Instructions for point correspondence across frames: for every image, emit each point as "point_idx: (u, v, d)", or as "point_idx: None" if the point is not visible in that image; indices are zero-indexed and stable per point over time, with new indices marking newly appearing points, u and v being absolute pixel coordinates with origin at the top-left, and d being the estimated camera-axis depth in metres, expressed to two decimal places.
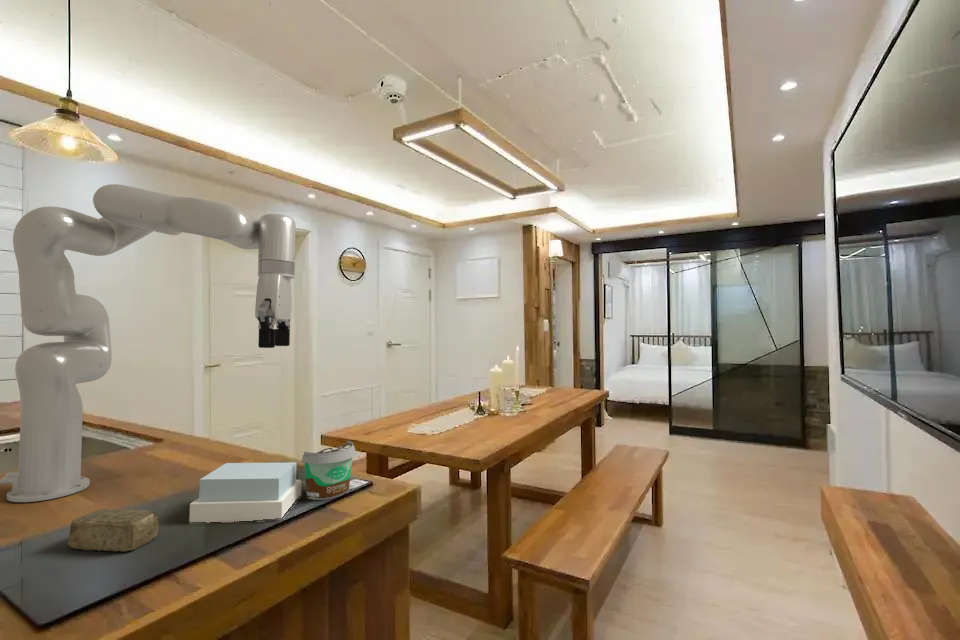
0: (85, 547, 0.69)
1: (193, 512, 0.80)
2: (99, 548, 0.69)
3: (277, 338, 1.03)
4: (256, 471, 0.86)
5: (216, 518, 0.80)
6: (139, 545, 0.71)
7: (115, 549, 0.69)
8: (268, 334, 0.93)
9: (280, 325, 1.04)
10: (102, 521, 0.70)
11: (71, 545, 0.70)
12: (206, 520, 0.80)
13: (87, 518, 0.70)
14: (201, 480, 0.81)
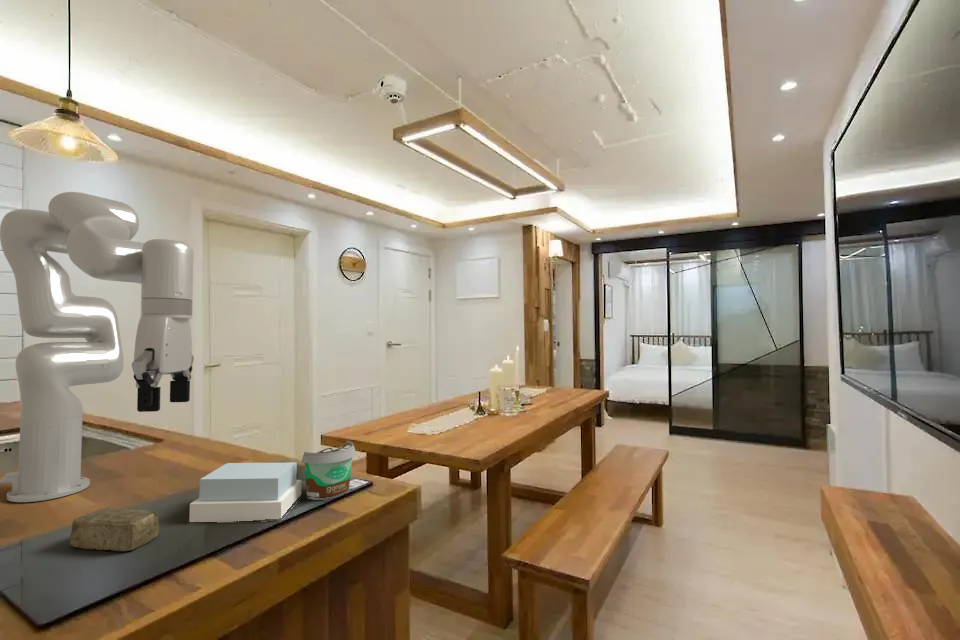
0: (86, 546, 0.70)
1: (193, 512, 0.80)
2: (100, 548, 0.69)
3: (173, 393, 0.83)
4: (256, 471, 0.86)
5: (215, 518, 0.80)
6: (139, 545, 0.71)
7: (115, 549, 0.69)
8: (150, 395, 0.73)
9: (177, 376, 0.83)
10: (102, 520, 0.70)
11: (73, 544, 0.70)
12: (206, 520, 0.80)
13: (88, 517, 0.71)
14: (201, 480, 0.81)
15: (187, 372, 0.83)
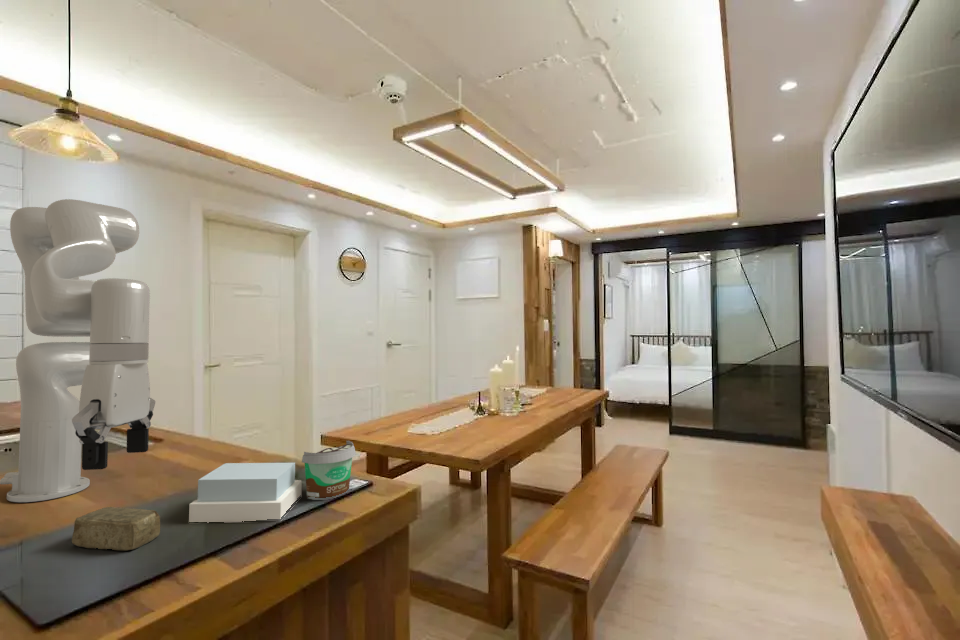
0: (88, 545, 0.70)
1: (192, 512, 0.80)
2: (101, 547, 0.70)
3: (130, 442, 0.76)
4: (254, 471, 0.86)
5: (215, 518, 0.80)
6: (140, 544, 0.71)
7: (116, 548, 0.69)
8: (95, 452, 0.66)
9: (135, 424, 0.77)
10: (104, 520, 0.70)
11: (75, 543, 0.70)
12: (205, 520, 0.80)
13: (90, 516, 0.71)
14: (199, 480, 0.81)
15: (145, 419, 0.77)
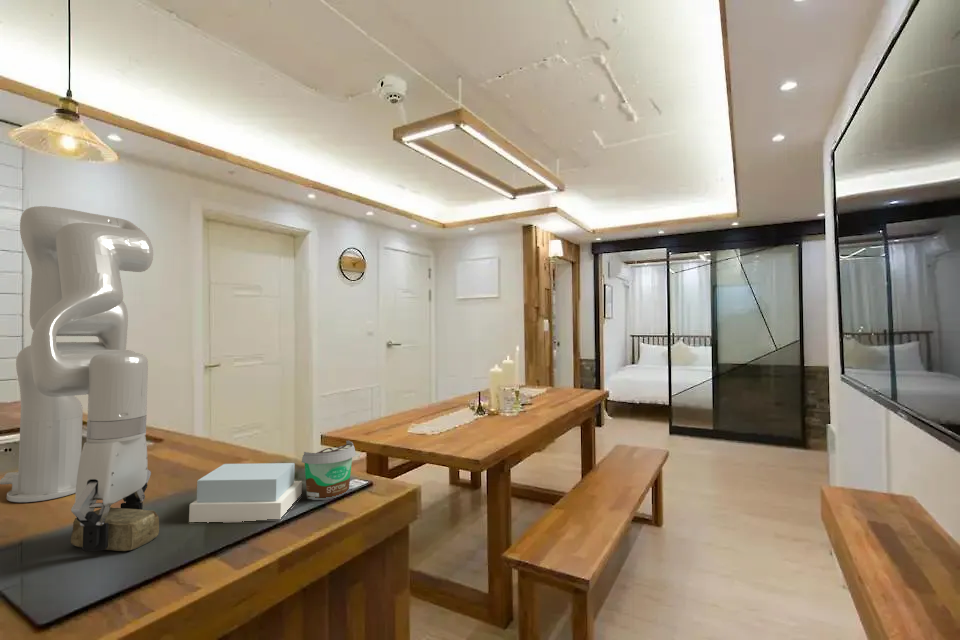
0: None
1: (193, 512, 0.80)
2: None
3: None
4: (253, 472, 0.86)
5: (215, 518, 0.80)
6: (139, 545, 0.71)
7: (115, 548, 0.69)
8: (96, 534, 0.67)
9: (129, 497, 0.76)
10: None
11: (73, 543, 0.70)
12: (205, 521, 0.80)
13: None
14: (198, 481, 0.81)
15: (139, 494, 0.76)
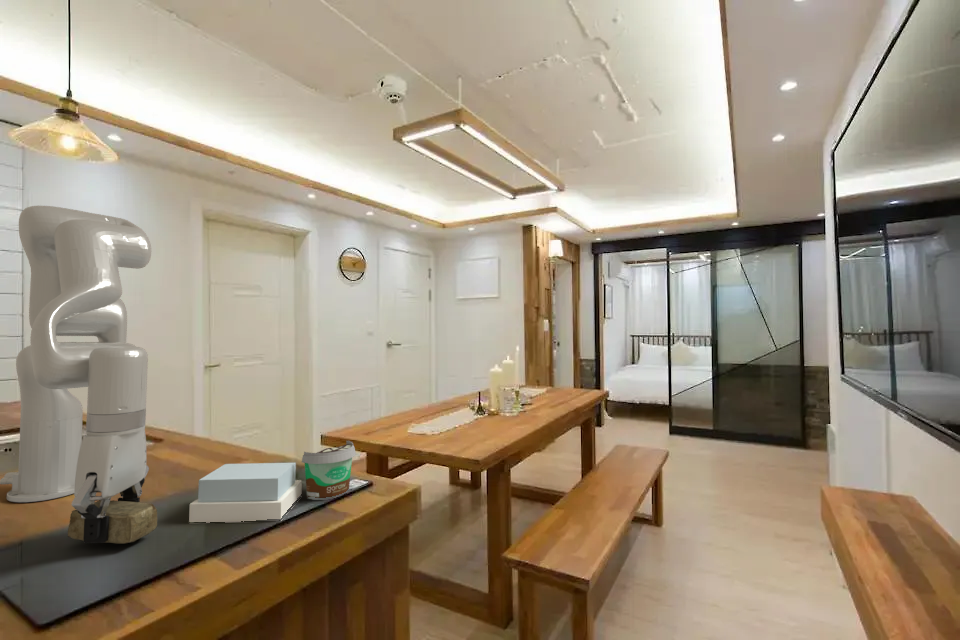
0: None
1: (193, 512, 0.80)
2: None
3: None
4: (255, 471, 0.86)
5: (215, 518, 0.80)
6: (137, 537, 0.71)
7: (113, 541, 0.69)
8: (96, 527, 0.68)
9: (126, 492, 0.76)
10: None
11: (71, 535, 0.70)
12: (206, 520, 0.80)
13: None
14: (200, 481, 0.81)
15: (136, 489, 0.76)
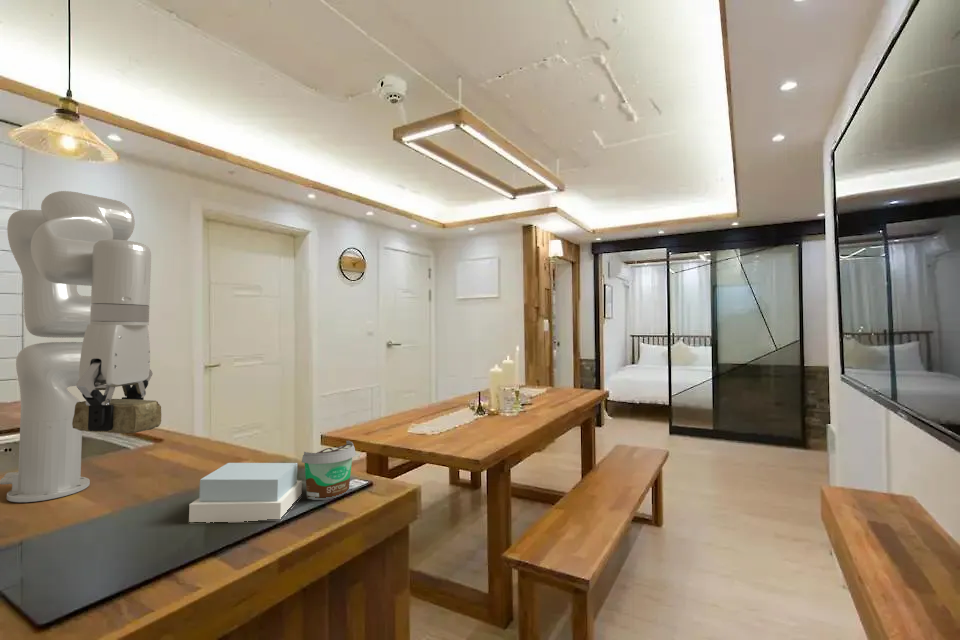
0: None
1: (192, 512, 0.80)
2: None
3: None
4: (256, 471, 0.86)
5: (215, 518, 0.80)
6: (142, 429, 0.71)
7: (118, 430, 0.69)
8: (101, 413, 0.68)
9: (130, 391, 0.76)
10: None
11: (75, 426, 0.70)
12: (205, 521, 0.80)
13: None
14: (201, 480, 0.81)
15: (140, 388, 0.76)
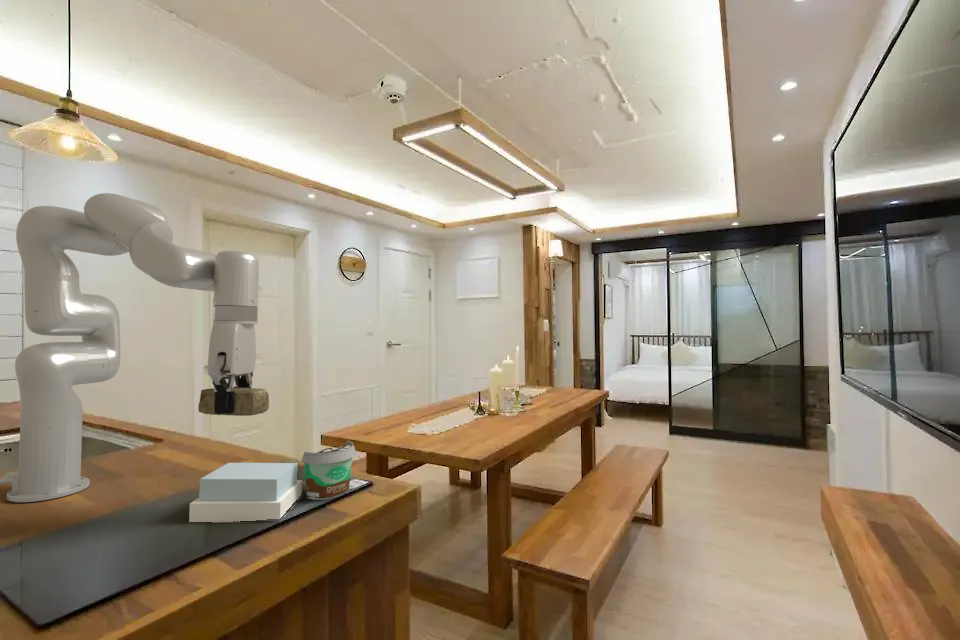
0: (213, 412, 0.82)
1: (193, 512, 0.80)
2: None
3: None
4: (256, 471, 0.86)
5: (215, 517, 0.80)
6: (256, 412, 0.83)
7: (238, 413, 0.81)
8: (226, 399, 0.80)
9: (240, 381, 0.88)
10: None
11: (201, 410, 0.82)
12: (205, 520, 0.80)
13: (213, 389, 0.83)
14: (201, 480, 0.81)
15: (249, 378, 0.88)
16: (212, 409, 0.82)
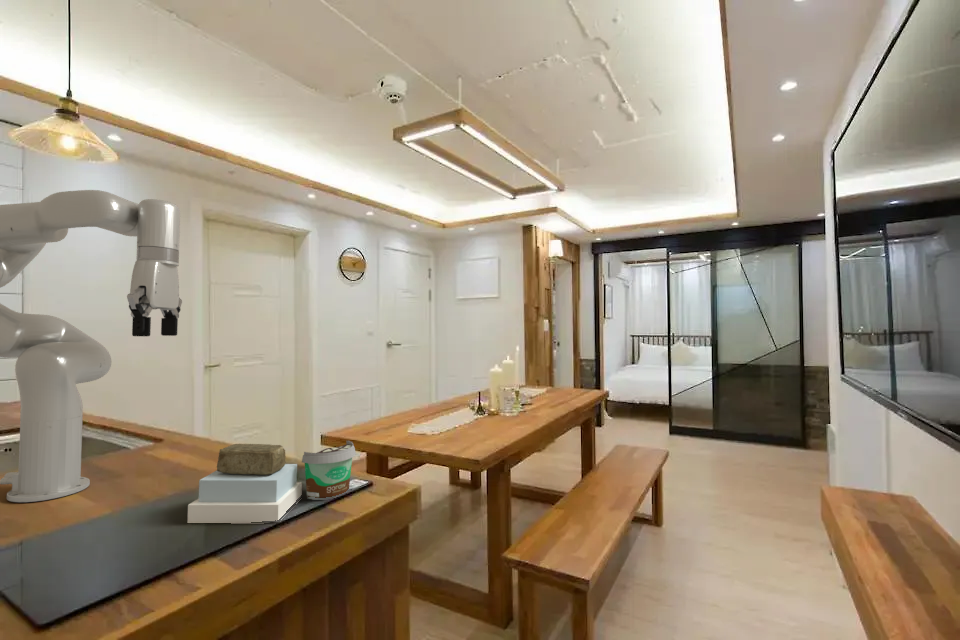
0: (232, 471, 0.84)
1: (191, 513, 0.80)
2: (244, 472, 0.84)
3: (163, 327, 1.01)
4: None
5: (213, 519, 0.80)
6: (275, 470, 0.85)
7: (258, 472, 0.84)
8: (142, 322, 0.91)
9: (167, 314, 1.01)
10: (245, 450, 0.84)
11: (220, 469, 0.84)
12: (204, 521, 0.80)
13: (232, 448, 0.85)
14: (200, 481, 0.81)
15: (175, 311, 1.01)
16: (231, 469, 0.84)
